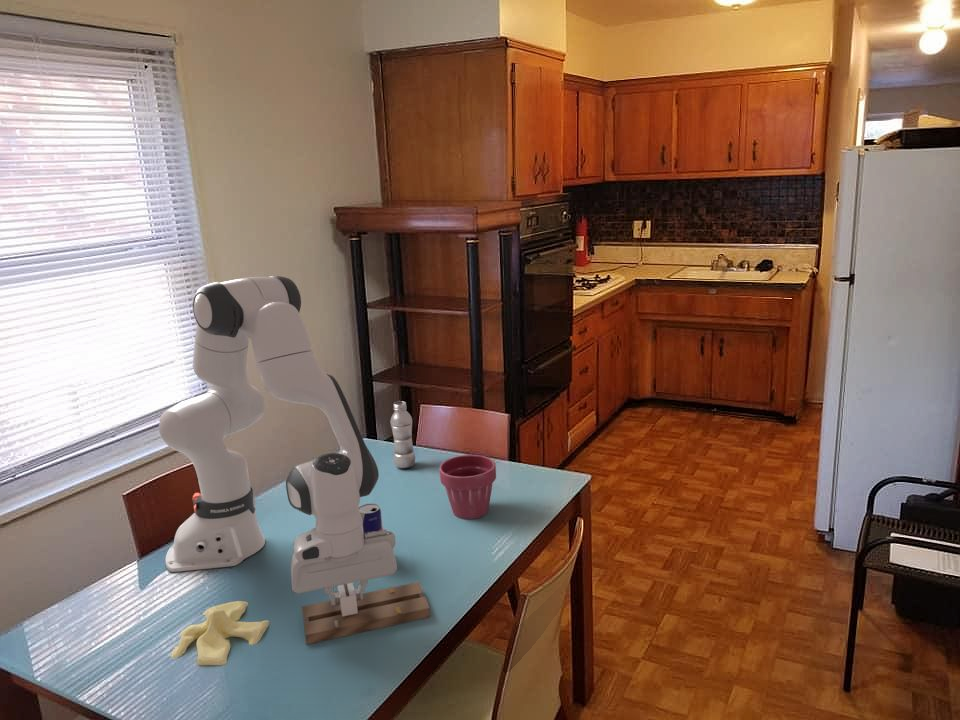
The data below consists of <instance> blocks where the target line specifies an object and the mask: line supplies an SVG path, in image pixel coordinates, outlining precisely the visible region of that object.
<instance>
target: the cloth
mask: <svg viewBox="0 0 960 720" xmlns="http://www.w3.org/2000/svg"><path fill="white" fill-rule="evenodd" d="M248 605H249V602H247V601H241V600H236V601H230V602H225V603H221V604H218V605H214V606H210V607H209V608H208V609H206V610H205V611H204V612H203V613H202V616H203V615H206V616H207V617H206V620H205V621H203V622H201V623H197V624H190V625H188V626H187V627H186V628H184V629H183V630H182V631H180V632H181V633H180V632H179V633H180V635H181V637H180V638H179V642H178V644H177V645H178V646H177V645H176V646H175V647H174V648H175V649H174V648H173V650H172V652H171V653H172V655H171V654H170V656H171V657H172V658H177V659H178V657H179V656H180V657H182V656H183V655H184V654H185V653H186V652H187V649H188V647H189V646H190V645H191V644H192V643H193V642H194V641H195V640H196V650H197V661H196V665H197V666H224V665H225V664H226V663H228V655H229V653H230V650H231V642H230V639H228V638H232V637H234V638H236V637H237V638H241V639H244V640H246V641H247V642H248V645H250V646H254V645H256V644H258V643H259V642H260V640H261V639H262V637H263V635H264V633H265V632H266V631H267V629H268V627H269V626H270V621H269V620H268V619H266V620H265V619H264V620H263V621H262V620H261V621H239V620H240V618H241V617H242V615H243V614H244V613H245V612H246V608H247V607H248ZM182 654H183V655H182ZM180 657H179V658H180Z"/></svg>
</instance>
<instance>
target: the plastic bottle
mask: <svg viewBox="0 0 960 720" xmlns="http://www.w3.org/2000/svg"><path fill="white" fill-rule="evenodd" d="M407 409H408V408H407V402H406V401H403V400H402V401H395V402H393V411H394V412H393V413H392V415H391V417H390V426H391V430H392V431H391V432H392V435H393V442H394V444H393V463H394V465H395V467H397V468H398V469H409V468H411V467H413V466H414V465H415V463H416V454H415V450H414V445H413V437H412V436H413V434H412V432H413V418H412V416H411V414H410V413H409V412H408V411H407Z"/></svg>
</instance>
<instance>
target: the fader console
mask: <svg viewBox="0 0 960 720" xmlns="http://www.w3.org/2000/svg"><path fill="white" fill-rule="evenodd" d="M357 610H358V613H357V614H352V615H347V616H343V617H342V613H341V608H340V604H339V605H335V606H333V602H332V599H329V600H326V601H321V602H317V603H312V604H307V605H302V606H301V611H302V618H303V627H304V636H305V644H306V645H311V644H316V643H318V642H324V641H328V640H333V639H337V638H342V637H345V636H351V635H355V634H359V633H364V632H368V631H372V630H373V631H374V630H377V629H382V628H386V627H391V626H396V625H400V624H405V623H409V622H412V621H417V620H423V619H427V618H431V608H430V605H429V603H428V600H427V598H426V595H425V593H424V591H423V589H422V586H421V583H420V582H419V581H416V582H413V583H412V582H411V583H407V584H403V585H397V586H393V587H392V586H391V587H388V588H383V589H378V590H373V591H369V592H368V591H367V592H365V593H364V592H363V600H358V601H357Z"/></svg>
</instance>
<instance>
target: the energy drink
mask: <svg viewBox="0 0 960 720" xmlns="http://www.w3.org/2000/svg"><path fill="white" fill-rule="evenodd" d="M359 512H360V514H361V517H362V523H363V532H364V533H367V532H373V531H374V532H375V531H380V530H384V529H383V528H384V527H383V518H382V509H381V506H380V505H379V504H376V503H366V504H362V505H359Z"/></svg>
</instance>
